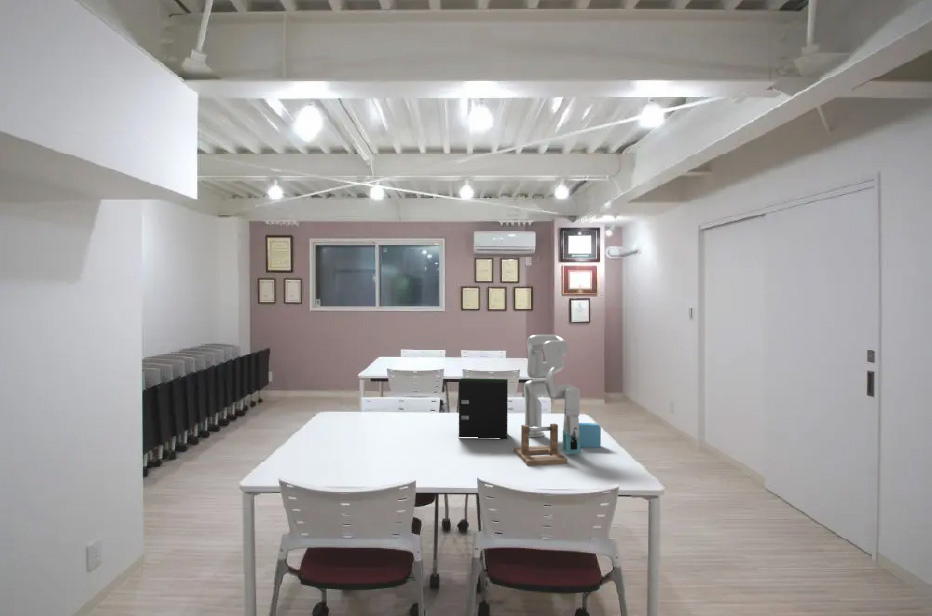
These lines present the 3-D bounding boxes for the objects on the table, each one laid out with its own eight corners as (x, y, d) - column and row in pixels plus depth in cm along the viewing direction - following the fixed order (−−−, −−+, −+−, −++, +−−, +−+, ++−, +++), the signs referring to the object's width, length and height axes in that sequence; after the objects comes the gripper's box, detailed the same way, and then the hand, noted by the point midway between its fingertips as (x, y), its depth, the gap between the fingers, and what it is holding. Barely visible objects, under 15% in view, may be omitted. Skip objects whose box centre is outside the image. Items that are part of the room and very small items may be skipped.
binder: (507, 433, 313) (507, 378, 313) (507, 440, 298) (507, 383, 298) (461, 432, 316) (461, 378, 315) (458, 439, 301) (458, 382, 300)
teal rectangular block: (562, 450, 273) (562, 430, 273) (575, 449, 274) (575, 429, 274) (566, 453, 267) (567, 433, 267) (580, 452, 268) (580, 432, 268)
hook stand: (513, 451, 277) (513, 420, 277) (550, 449, 281) (550, 418, 280) (527, 465, 254) (527, 431, 253) (567, 463, 257) (567, 430, 257)
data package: (599, 445, 289) (599, 423, 288) (600, 447, 284) (600, 425, 284) (576, 444, 289) (576, 422, 289) (577, 447, 285) (578, 424, 285)
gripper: (558, 408, 278) (558, 442, 278) (571, 416, 261) (570, 453, 262) (572, 408, 279) (571, 442, 280) (585, 415, 262) (585, 452, 263)
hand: (571, 447), depth 271 cm, fingers closed on teal rectangular block, 6 cm apart
